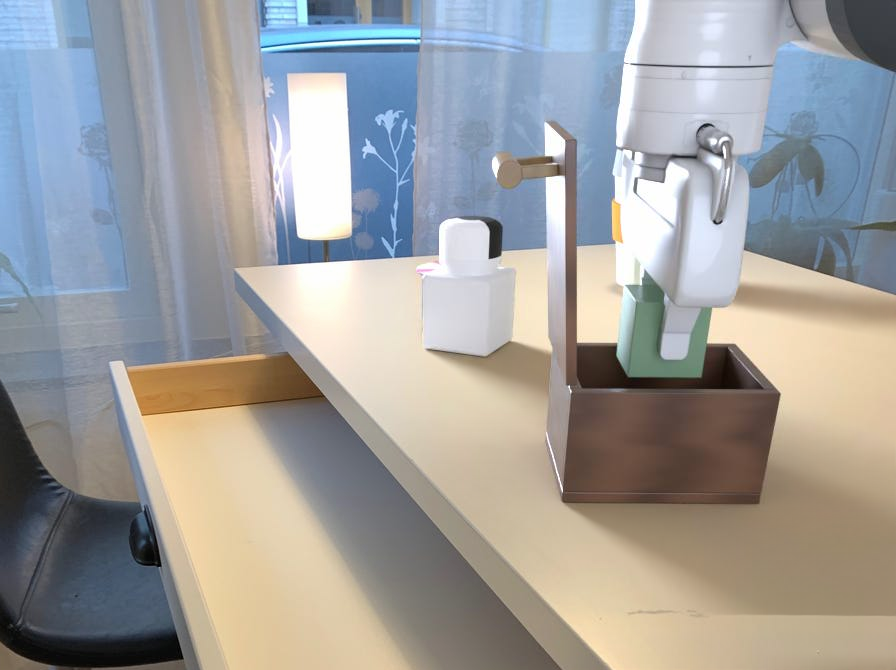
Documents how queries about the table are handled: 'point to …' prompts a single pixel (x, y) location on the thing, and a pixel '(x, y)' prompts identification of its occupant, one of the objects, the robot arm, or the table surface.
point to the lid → (554, 234)
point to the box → (660, 430)
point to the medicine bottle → (468, 290)
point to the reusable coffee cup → (625, 260)
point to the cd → (428, 267)
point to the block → (655, 336)
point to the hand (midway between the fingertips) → (661, 343)
